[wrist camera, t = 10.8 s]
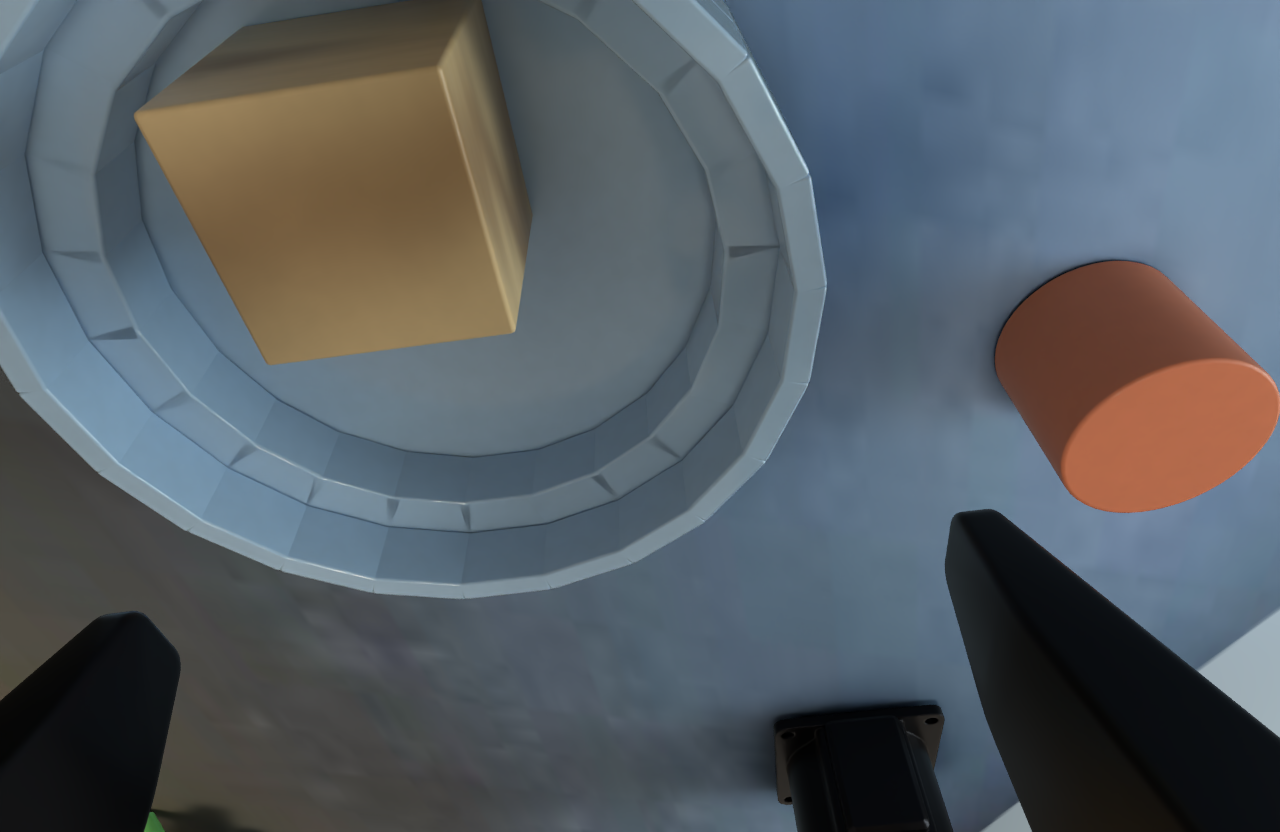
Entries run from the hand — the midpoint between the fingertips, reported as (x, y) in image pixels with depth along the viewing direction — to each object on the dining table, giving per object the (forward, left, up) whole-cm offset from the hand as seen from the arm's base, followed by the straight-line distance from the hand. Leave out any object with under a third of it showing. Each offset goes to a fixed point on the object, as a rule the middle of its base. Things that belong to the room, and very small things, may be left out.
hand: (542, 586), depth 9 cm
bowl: (-1, +3, -11) cm, 11 cm away
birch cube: (+2, +3, -10) cm, 11 cm away
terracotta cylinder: (-6, -12, -11) cm, 17 cm away
